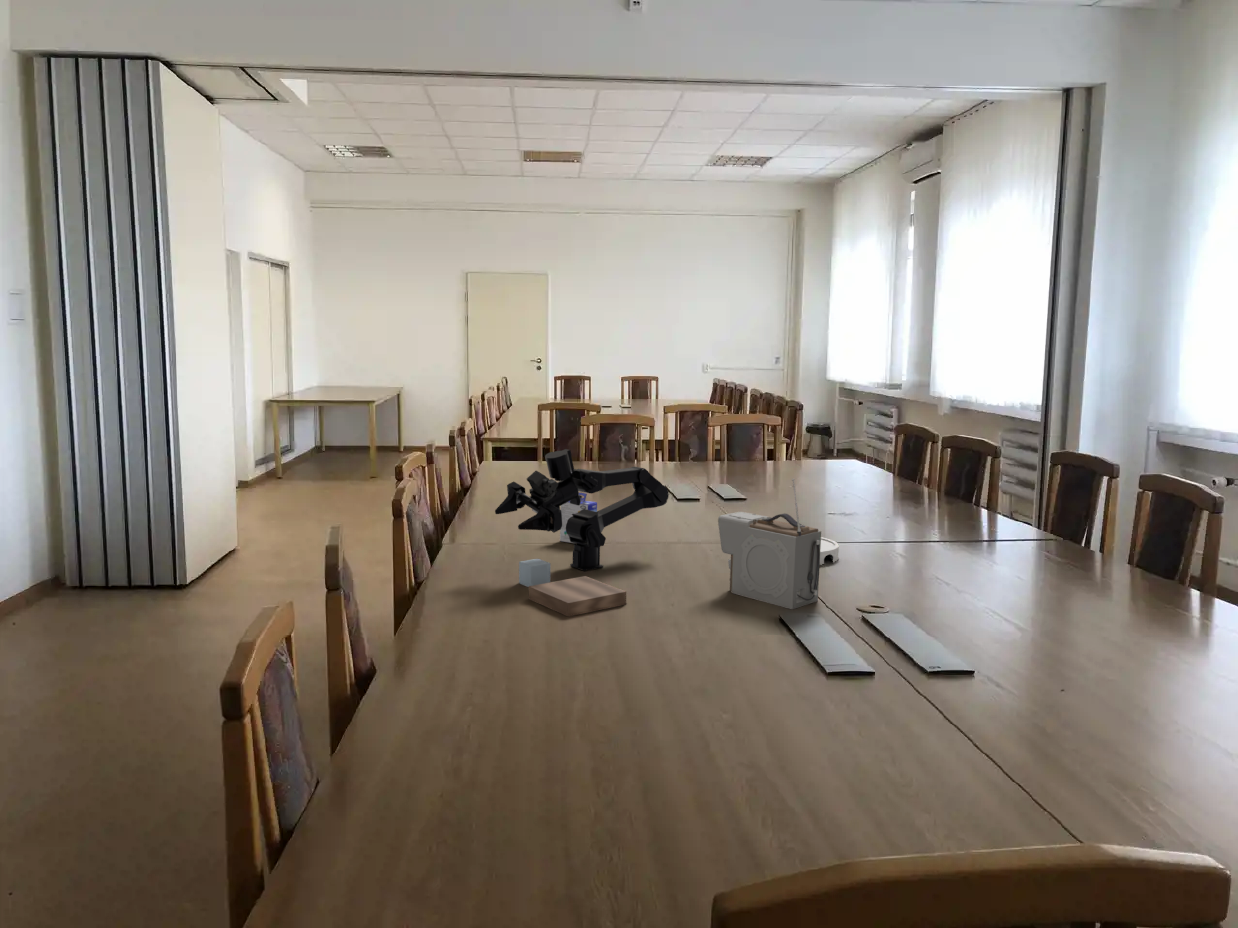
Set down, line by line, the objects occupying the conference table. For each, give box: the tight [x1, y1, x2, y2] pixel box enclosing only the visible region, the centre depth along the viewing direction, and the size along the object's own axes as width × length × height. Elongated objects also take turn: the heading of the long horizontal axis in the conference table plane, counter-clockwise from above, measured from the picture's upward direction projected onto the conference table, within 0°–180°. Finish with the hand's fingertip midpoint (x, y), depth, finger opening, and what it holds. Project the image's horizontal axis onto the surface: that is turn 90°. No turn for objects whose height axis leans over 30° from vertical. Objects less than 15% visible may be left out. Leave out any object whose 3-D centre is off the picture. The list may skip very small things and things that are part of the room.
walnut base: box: [528, 575, 627, 617], centre depth 207 cm, size 16×16×3 cm
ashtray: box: [820, 536, 840, 566], centre depth 256 cm, size 23×23×4 cm
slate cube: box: [518, 558, 551, 588], centre depth 221 cm, size 6×6×6 cm
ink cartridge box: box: [559, 492, 598, 544], centre depth 266 cm, size 10×6×14 cm, turn 59°
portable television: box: [717, 478, 822, 610], centre depth 213 cm, size 12×24×30 cm, turn 45°
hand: (506, 519), depth 220 cm, fingers open, 9 cm apart
